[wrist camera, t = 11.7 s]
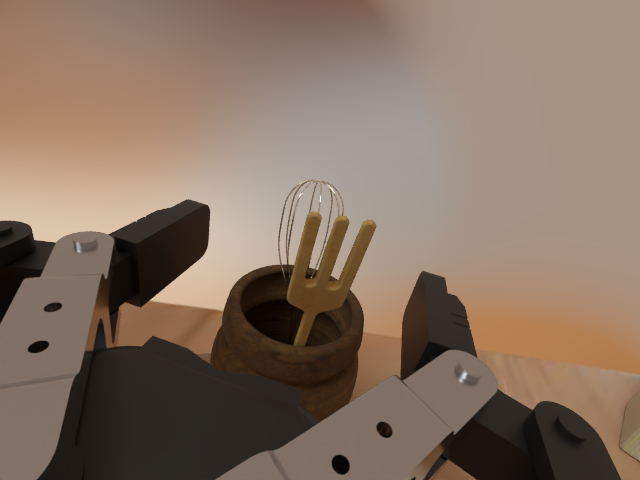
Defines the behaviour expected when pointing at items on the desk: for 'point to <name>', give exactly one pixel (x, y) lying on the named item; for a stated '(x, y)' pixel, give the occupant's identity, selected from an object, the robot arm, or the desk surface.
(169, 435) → the robot arm
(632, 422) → the toy refrigerator
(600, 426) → the desk surface
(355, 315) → the utensil holder
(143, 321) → the desk surface
